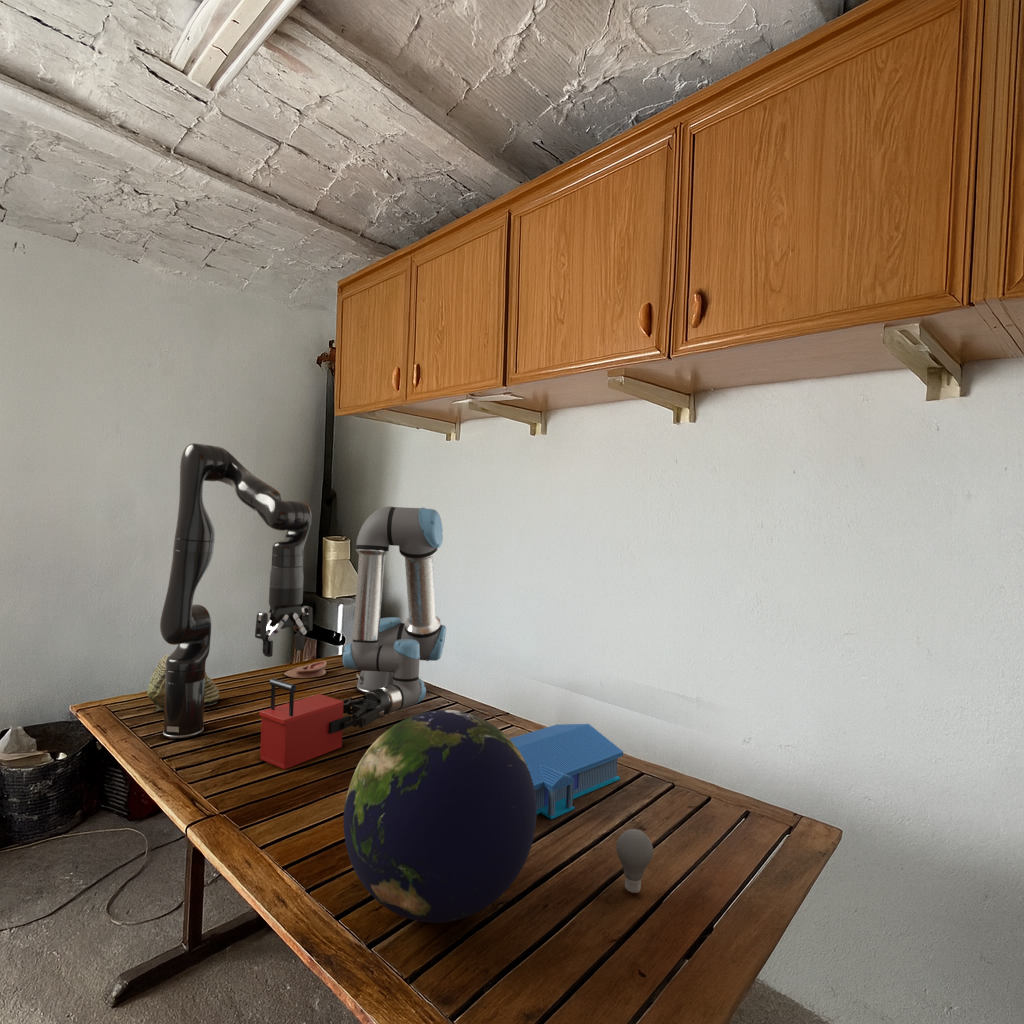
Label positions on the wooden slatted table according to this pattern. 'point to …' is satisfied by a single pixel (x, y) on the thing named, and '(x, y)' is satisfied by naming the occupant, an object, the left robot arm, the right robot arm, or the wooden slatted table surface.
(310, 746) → the chest
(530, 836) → the globe
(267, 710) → the lid
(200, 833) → the wooden slatted table surface
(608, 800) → the wooden slatted table surface
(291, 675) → the anatomical model
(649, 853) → the light bulb
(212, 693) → the fossil
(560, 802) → the model building
